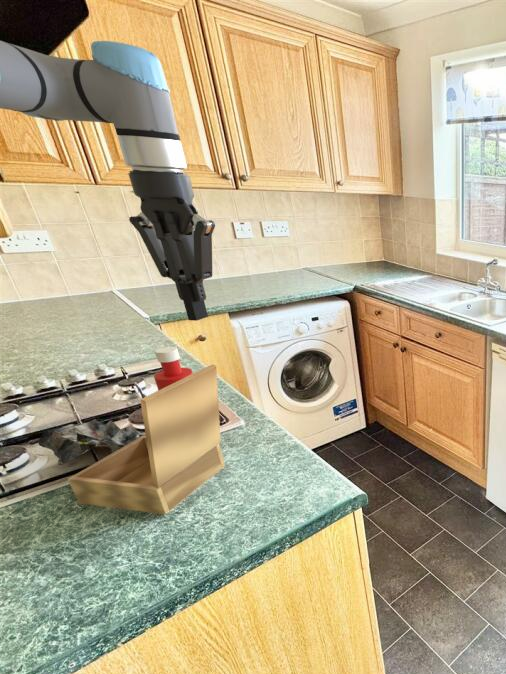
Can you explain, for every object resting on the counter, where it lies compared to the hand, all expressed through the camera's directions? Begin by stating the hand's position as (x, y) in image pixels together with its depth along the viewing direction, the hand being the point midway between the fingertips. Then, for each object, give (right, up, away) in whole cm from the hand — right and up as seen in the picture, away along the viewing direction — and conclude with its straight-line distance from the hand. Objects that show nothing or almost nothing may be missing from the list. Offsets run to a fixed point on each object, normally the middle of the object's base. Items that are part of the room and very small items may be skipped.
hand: (198, 318), depth 75 cm
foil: (-24, -26, +9) cm, 36 cm away
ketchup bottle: (-12, -24, +14) cm, 30 cm away
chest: (-8, -30, +1) cm, 32 cm away
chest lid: (+2, -18, -5) cm, 19 cm away
